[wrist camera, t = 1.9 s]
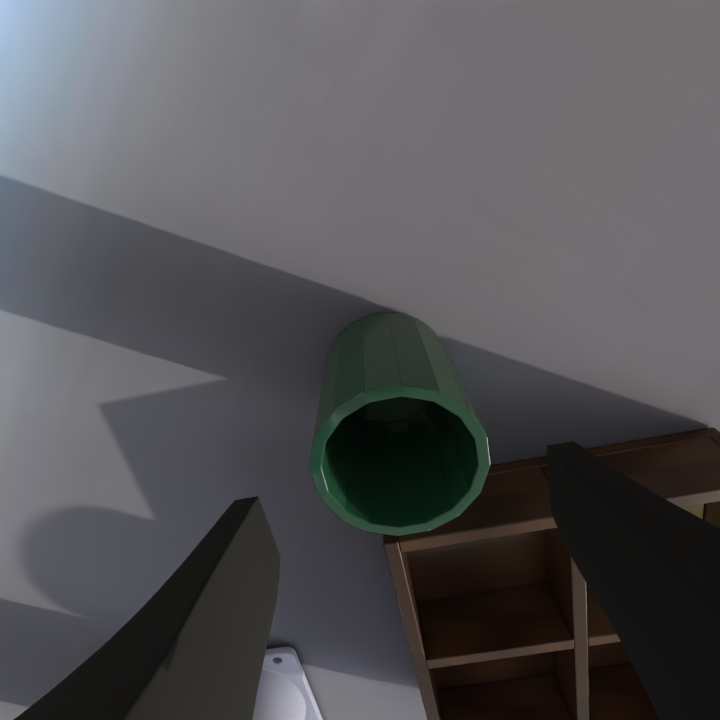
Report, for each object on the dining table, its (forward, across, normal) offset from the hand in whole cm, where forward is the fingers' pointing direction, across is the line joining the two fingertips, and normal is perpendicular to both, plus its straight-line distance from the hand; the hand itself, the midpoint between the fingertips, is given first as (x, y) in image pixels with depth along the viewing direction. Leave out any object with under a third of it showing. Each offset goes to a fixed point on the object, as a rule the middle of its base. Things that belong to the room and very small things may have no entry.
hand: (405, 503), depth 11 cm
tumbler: (+8, 0, 0) cm, 8 cm away
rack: (+8, -6, +13) cm, 16 cm away
